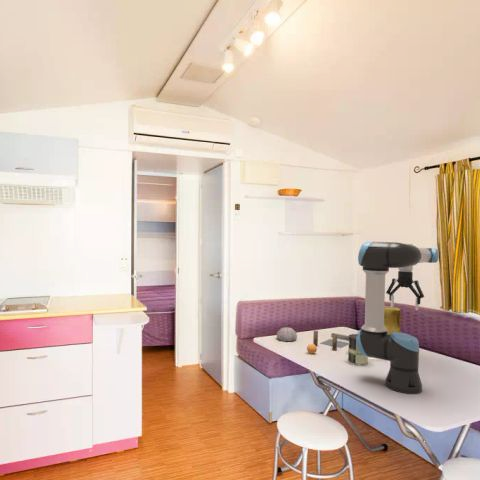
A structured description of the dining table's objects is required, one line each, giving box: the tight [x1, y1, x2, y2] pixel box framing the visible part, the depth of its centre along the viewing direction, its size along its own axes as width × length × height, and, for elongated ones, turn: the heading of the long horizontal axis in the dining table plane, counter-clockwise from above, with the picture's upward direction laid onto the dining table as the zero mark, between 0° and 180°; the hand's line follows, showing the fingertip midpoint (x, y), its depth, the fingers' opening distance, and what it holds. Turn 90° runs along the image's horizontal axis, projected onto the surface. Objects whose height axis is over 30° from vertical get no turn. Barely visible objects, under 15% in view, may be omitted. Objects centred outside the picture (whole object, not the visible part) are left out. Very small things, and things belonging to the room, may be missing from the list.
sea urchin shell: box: [276, 326, 298, 342], centre depth 250 cm, size 13×14×8 cm
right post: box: [331, 333, 338, 352], centre depth 229 cm, size 3×3×9 cm
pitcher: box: [384, 305, 402, 335], centre depth 239 cm, size 17×19×25 cm
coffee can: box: [347, 333, 369, 367], centre depth 206 cm, size 10×10×14 cm
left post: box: [312, 330, 319, 347], centre depth 237 cm, size 3×3×9 cm
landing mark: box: [319, 338, 349, 349], centre depth 244 cm, size 14×14×1 cm
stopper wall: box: [330, 332, 349, 342], centre depth 254 cm, size 2×18×2 cm, turn 51°
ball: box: [306, 343, 318, 355], centre depth 220 cm, size 6×6×6 cm
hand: (404, 308), depth 219 cm, fingers open, 13 cm apart
